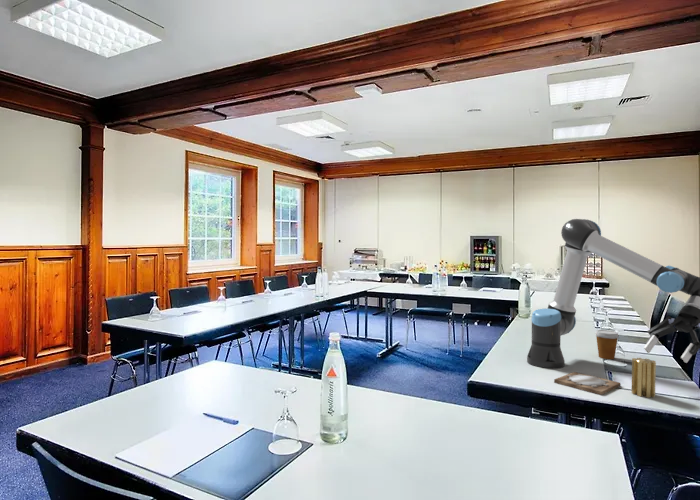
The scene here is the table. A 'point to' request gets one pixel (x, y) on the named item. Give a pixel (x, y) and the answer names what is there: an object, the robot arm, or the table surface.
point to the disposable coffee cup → (606, 343)
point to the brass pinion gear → (643, 377)
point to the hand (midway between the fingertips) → (664, 355)
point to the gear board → (587, 383)
